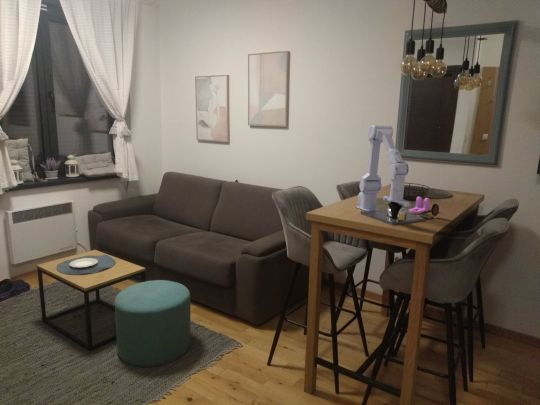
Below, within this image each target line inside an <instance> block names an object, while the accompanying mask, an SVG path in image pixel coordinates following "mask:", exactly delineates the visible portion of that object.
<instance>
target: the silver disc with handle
mask: <svg viewBox="0 0 540 405" xmlns="http://www.w3.org/2000/svg"><path fill="white" fill-rule="evenodd" d="M386 209H387V215H388V216H392V214H391V210H390V207H389V206H388V207H387V208H386ZM407 213H408V209H407V208H404V206H402V208H401V209H400V211H399V213H398V215H397V219H398V220H404V218H405V217H406V216H407Z"/></svg>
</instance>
